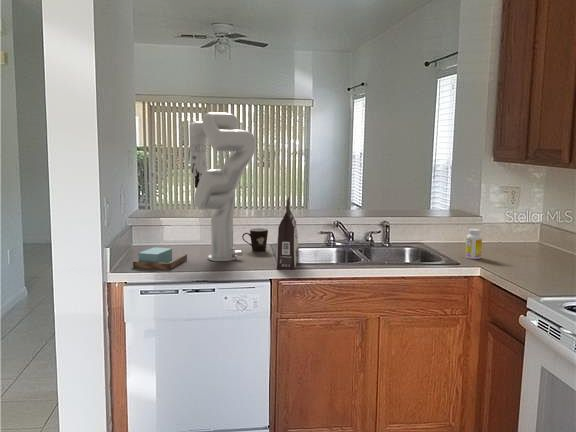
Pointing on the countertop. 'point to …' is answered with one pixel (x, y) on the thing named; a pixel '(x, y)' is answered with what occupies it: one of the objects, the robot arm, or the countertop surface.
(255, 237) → the coffee mug
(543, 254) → the countertop surface
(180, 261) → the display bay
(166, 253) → the carton
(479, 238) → the supplement bottle
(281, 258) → the protein powder
